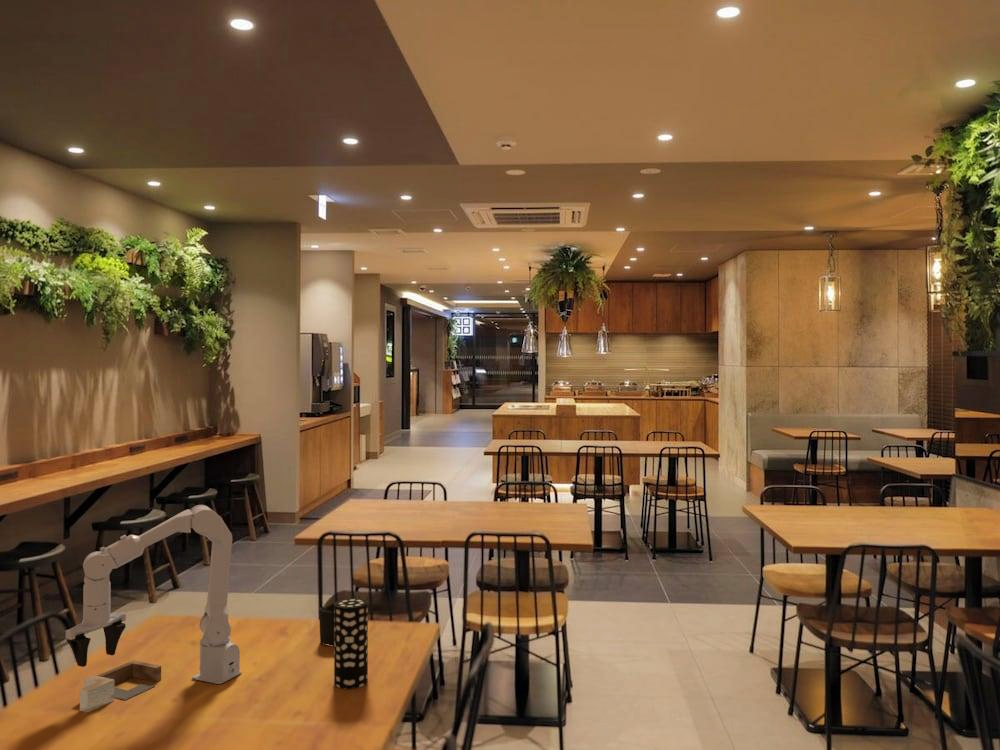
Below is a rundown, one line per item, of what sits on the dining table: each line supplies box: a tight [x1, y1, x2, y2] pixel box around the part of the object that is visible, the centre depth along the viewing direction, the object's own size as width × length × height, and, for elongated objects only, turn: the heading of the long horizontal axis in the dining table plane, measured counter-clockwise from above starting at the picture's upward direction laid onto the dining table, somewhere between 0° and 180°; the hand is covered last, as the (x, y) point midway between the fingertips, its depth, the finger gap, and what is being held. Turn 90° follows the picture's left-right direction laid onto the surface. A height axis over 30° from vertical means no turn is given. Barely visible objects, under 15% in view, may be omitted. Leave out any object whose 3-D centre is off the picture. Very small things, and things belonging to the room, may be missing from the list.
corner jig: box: [96, 660, 162, 686], centre depth 179 cm, size 10×10×4 cm
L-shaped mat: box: [114, 682, 156, 701], centre depth 176 cm, size 8×8×1 cm
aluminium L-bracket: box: [79, 674, 115, 713], centre depth 168 cm, size 7×7×5 cm
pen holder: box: [318, 602, 335, 645], centre depth 210 cm, size 9×9×10 cm
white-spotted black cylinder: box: [333, 597, 369, 690], centre depth 181 cm, size 8×8×20 cm
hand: (96, 660), depth 171 cm, fingers open, 7 cm apart
